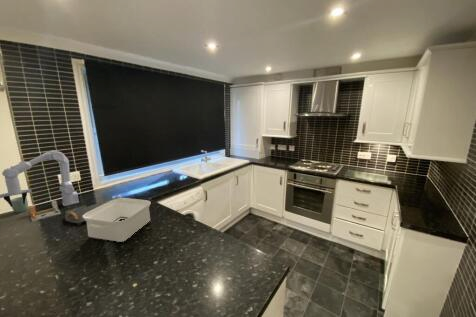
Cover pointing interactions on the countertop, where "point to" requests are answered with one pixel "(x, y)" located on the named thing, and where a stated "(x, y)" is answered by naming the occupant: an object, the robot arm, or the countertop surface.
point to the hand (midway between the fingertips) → (18, 204)
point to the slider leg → (32, 211)
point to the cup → (19, 204)
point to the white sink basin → (117, 219)
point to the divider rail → (54, 205)
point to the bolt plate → (45, 215)
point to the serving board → (82, 212)
